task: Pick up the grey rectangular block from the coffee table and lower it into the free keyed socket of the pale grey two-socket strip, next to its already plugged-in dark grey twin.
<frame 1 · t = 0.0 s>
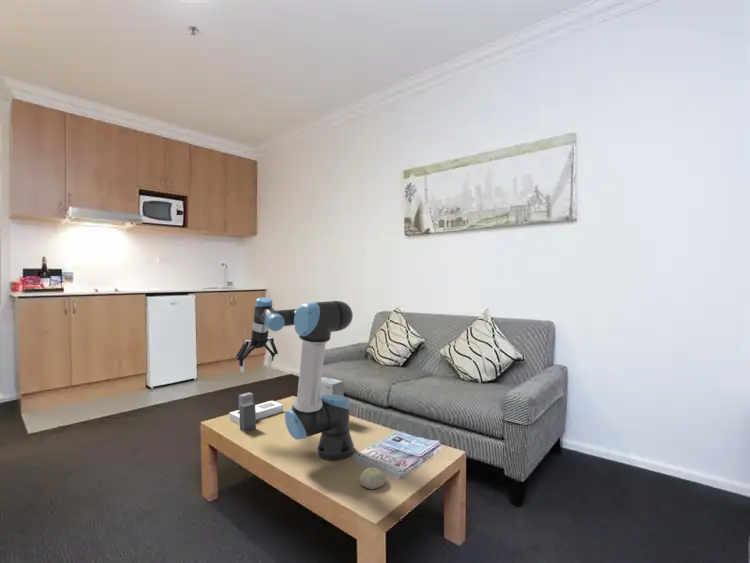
hand: (255, 369, 192), 28 cm above the table, tool tilted 20°, fingers open, 13 cm apart
grey rectangular block: (247, 429, 189), on the table
socket strip: (257, 415, 207), on the table
hard drive box: (328, 419, 200), on the table
sea urchin shell: (372, 484, 139), on the table
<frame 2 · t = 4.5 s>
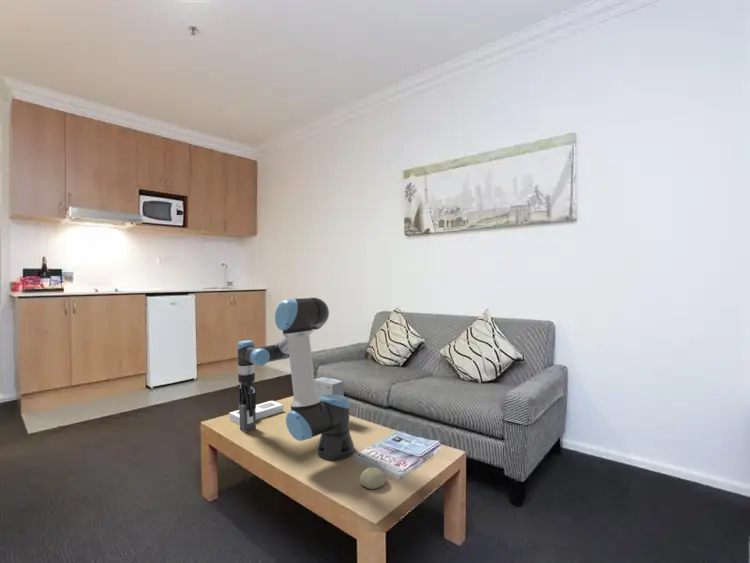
hand: (247, 421, 189), 4 cm above the table, tool pointing down, fingers closed on grey rectangular block, 4 cm apart
grey rectangular block: (247, 429, 189), on the table, touching gripper
everything else where it was.
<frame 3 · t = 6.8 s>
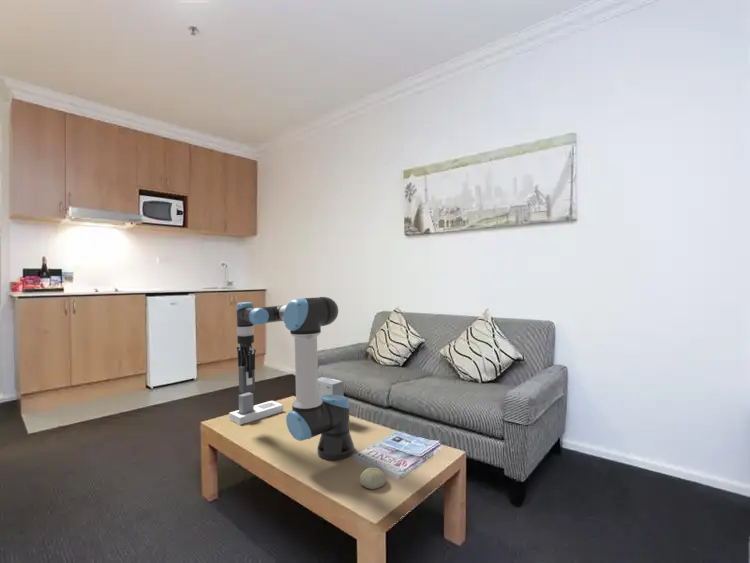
hand: (246, 383, 188), 22 cm above the table, tool pointing down, fingers closed on grey rectangular block, 4 cm apart
grey rectangular block: (247, 391, 188), point 18 cm above the table, touching gripper
everything else where it was.
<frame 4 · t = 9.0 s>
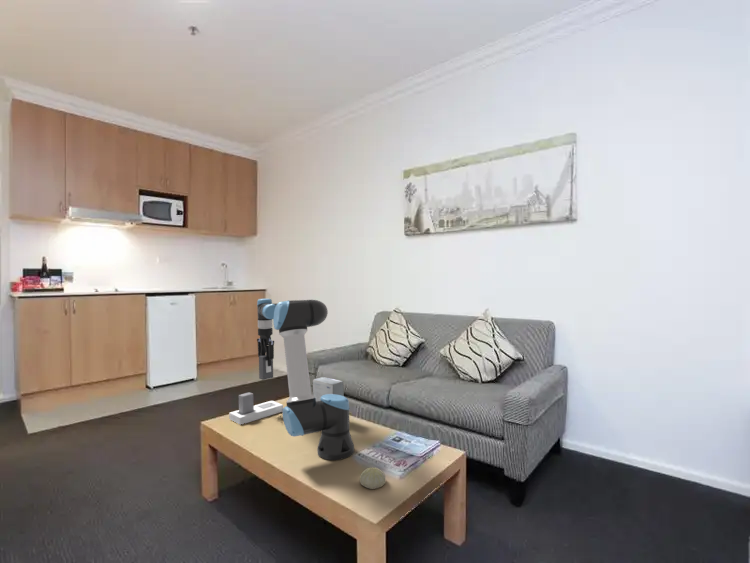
hand: (266, 371, 211), 22 cm above the table, tool pointing down, fingers closed on grey rectangular block, 4 cm apart
grey rectangular block: (266, 378, 211), point 18 cm above the table, touching gripper
everything else where it was.
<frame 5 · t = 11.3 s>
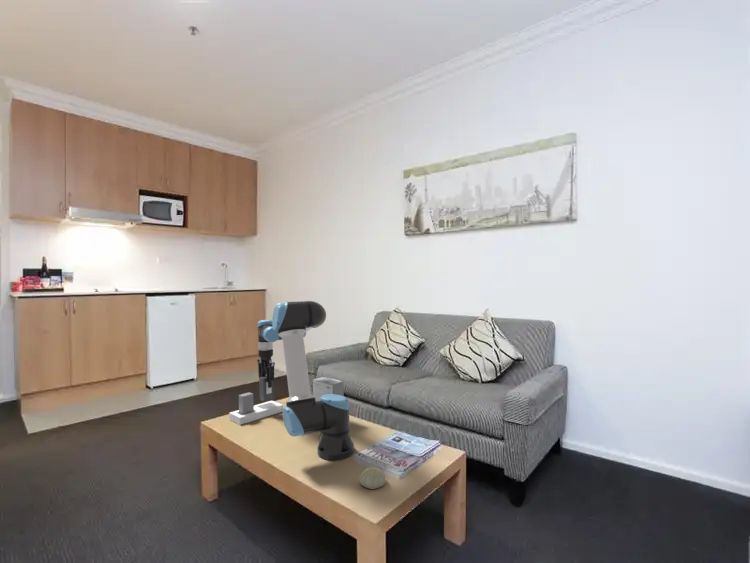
hand: (266, 392, 211), 11 cm above the table, tool pointing down, fingers closed on grey rectangular block, 4 cm apart
grey rectangular block: (266, 399, 211), point 7 cm above the table, touching gripper
everything else where it was.
when the fingers open (5 cm above the table, at t = 13.4 s): grey rectangular block stays where it is, resting on socket strip.
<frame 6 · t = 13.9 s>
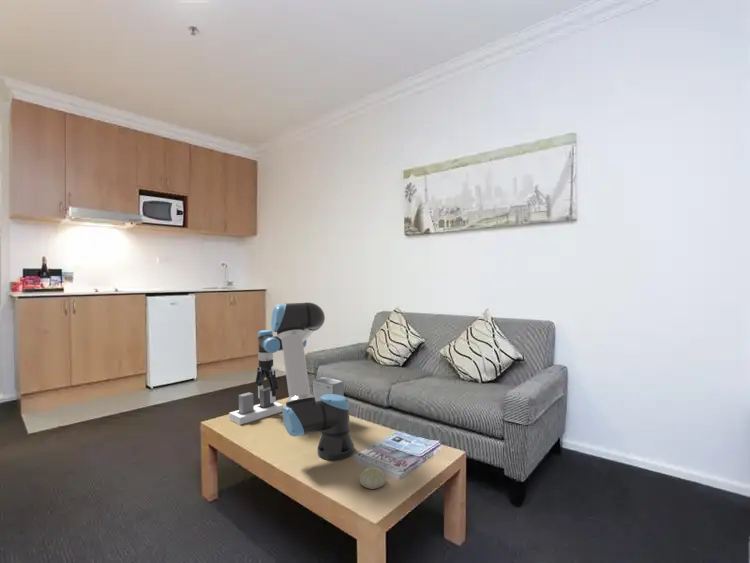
hand: (266, 399, 211), 7 cm above the table, tool pointing down, fingers open, 11 cm apart
grey rectangular block: (267, 411, 211), resting on socket strip
everything else where it was.
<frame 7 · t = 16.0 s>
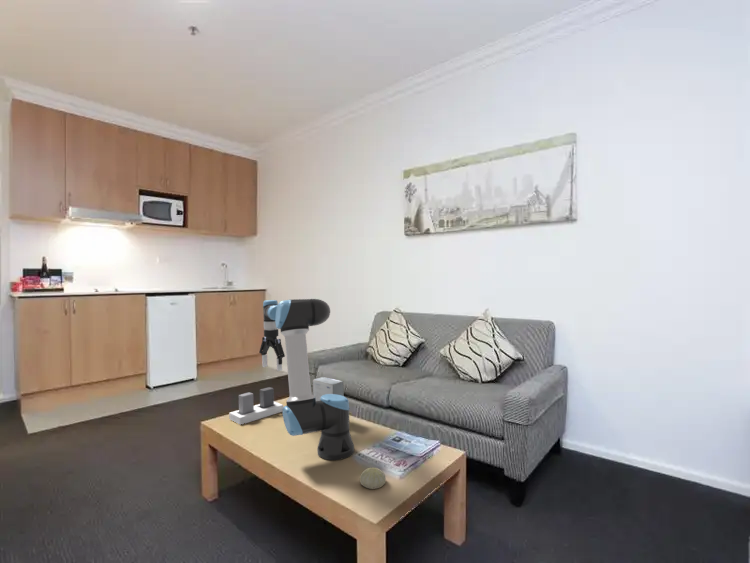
hand: (272, 368, 211), 23 cm above the table, tool pointing down, fingers open, 13 cm apart
nothing on the table moved.
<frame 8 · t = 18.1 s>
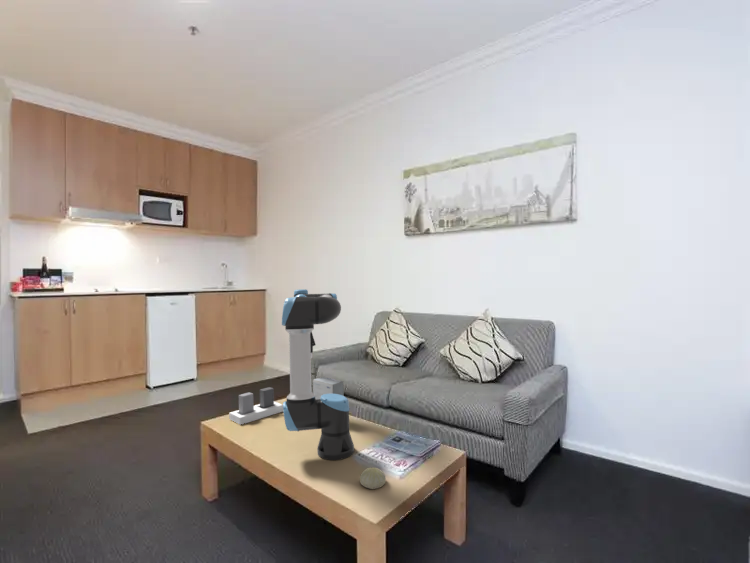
hand: (302, 357, 214), 29 cm above the table, tool pointing down, fingers open, 13 cm apart
nothing on the table moved.
at the end: grey rectangular block 0.1 cm from the target spot on the socket strip, point 0.5 cm above the socket strip's base; grey rectangular block tilted 0°; the gripper is holding nothing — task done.
